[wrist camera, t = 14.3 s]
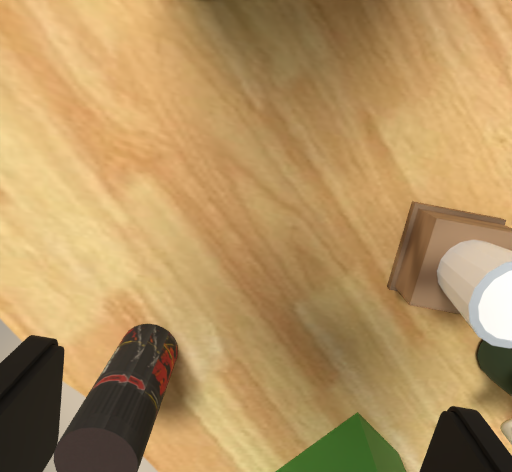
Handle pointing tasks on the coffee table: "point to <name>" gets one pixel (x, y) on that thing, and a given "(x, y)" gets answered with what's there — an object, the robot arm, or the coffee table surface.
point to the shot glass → (480, 288)
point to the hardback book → (348, 451)
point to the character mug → (498, 373)
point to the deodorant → (120, 406)
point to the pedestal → (437, 250)
